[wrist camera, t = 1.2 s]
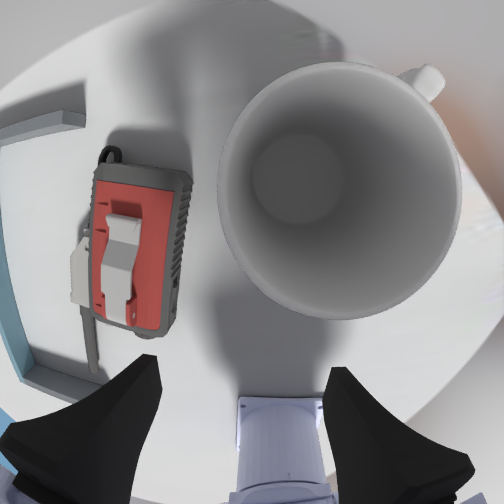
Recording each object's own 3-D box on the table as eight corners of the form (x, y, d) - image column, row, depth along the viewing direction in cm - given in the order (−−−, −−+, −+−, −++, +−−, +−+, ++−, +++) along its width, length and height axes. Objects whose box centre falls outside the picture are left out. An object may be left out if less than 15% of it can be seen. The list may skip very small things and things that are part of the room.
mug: (301, 249, 19) (353, 359, 8) (222, 185, 18) (160, 214, 7) (392, 141, 17) (523, 128, 5) (319, 74, 16) (389, -27, 4)
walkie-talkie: (92, 144, 18) (91, 360, 23) (57, 141, 13) (70, 387, 19) (202, 156, 18) (173, 387, 24) (185, 153, 14) (161, 420, 19)
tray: (116, 395, 24) (106, 414, 21) (32, 367, 24) (20, 381, 21) (86, 114, 17) (63, 109, 14) (-5, 138, 17) (-26, 139, 14)
